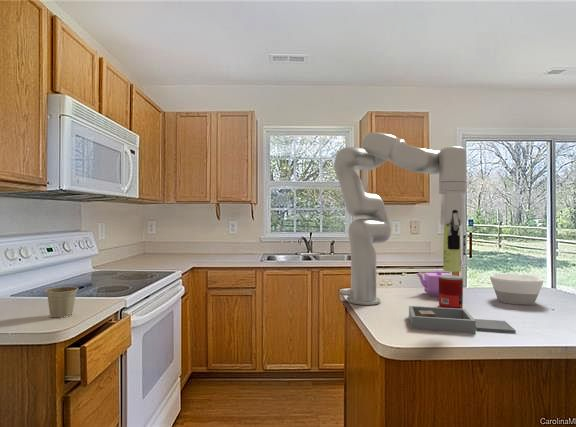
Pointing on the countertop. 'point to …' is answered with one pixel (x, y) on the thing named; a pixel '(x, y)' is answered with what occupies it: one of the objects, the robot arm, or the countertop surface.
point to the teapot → (431, 282)
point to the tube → (451, 254)
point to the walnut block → (426, 314)
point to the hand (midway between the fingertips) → (451, 247)
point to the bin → (442, 319)
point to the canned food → (450, 291)
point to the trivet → (493, 326)
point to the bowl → (516, 288)
